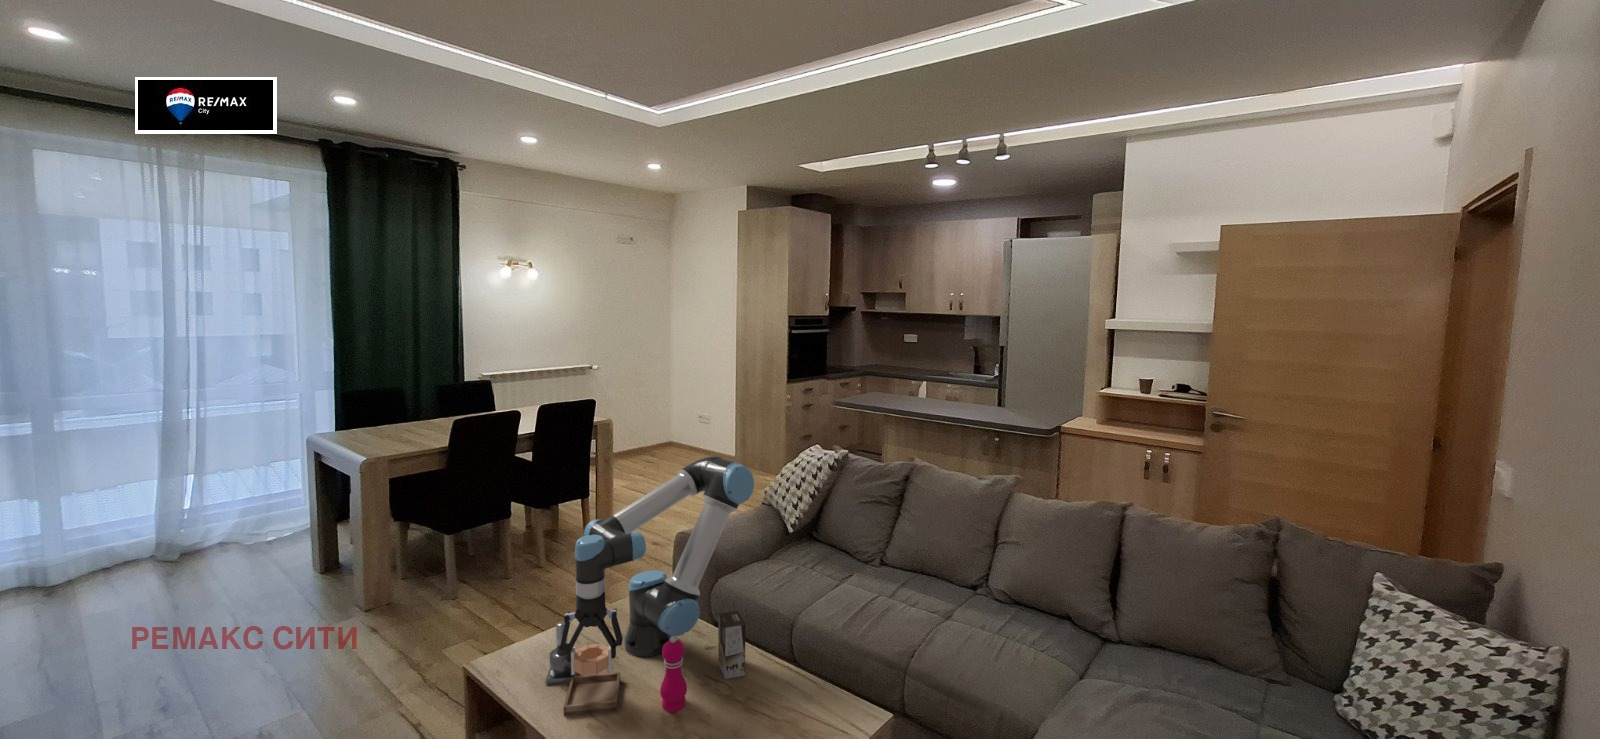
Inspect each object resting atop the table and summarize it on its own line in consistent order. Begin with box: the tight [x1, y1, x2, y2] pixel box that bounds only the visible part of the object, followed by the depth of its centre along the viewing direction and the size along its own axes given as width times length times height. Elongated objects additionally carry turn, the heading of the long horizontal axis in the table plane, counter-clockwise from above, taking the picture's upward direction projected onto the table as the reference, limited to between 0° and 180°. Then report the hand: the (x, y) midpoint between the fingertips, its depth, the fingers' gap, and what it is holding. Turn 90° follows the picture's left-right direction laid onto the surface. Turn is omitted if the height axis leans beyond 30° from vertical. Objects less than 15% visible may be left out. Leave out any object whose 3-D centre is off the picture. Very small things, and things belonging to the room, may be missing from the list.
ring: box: [574, 643, 609, 676], centre depth 174 cm, size 9×9×4 cm
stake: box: [545, 620, 578, 686], centre depth 185 cm, size 8×8×16 cm
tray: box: [563, 671, 621, 716], centre depth 176 cm, size 13×13×2 cm
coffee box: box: [717, 610, 746, 680], centre depth 189 cm, size 9×6×16 cm
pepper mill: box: [659, 636, 688, 713], centre depth 172 cm, size 7×7×20 cm
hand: (592, 670), depth 175 cm, fingers closed on ring, 9 cm apart
